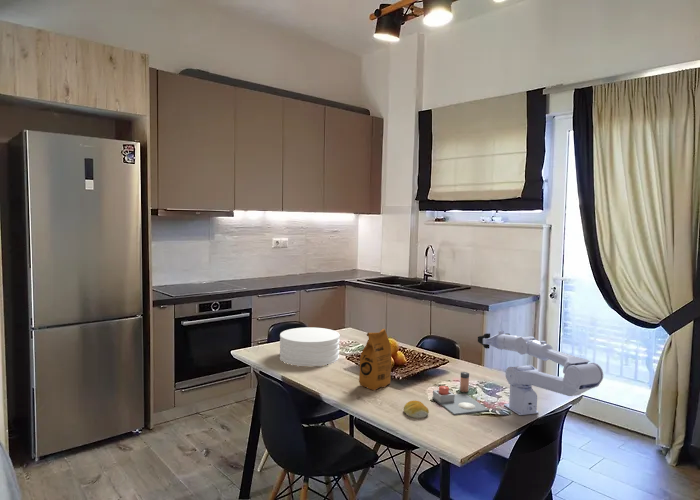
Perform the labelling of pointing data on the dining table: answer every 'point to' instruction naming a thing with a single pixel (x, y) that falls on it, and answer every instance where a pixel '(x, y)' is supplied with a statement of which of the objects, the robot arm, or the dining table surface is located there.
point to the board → (458, 403)
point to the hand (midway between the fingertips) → (486, 339)
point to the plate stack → (309, 346)
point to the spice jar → (464, 382)
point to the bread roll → (416, 409)
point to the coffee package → (376, 361)
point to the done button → (443, 390)
